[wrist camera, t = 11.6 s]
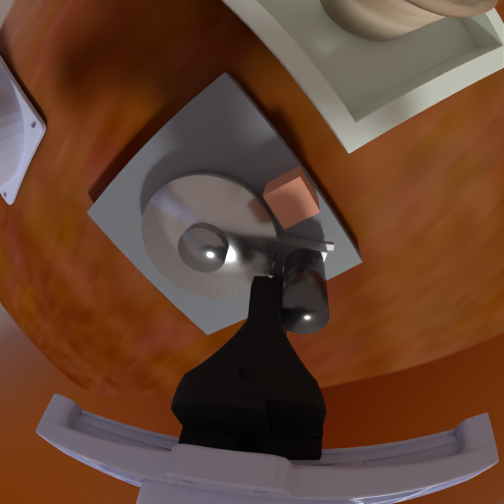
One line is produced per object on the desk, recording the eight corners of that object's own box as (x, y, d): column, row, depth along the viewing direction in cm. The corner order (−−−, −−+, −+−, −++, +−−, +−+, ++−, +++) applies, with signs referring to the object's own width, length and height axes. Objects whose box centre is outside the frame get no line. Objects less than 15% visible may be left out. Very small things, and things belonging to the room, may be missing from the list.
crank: (151, 273, 15) (118, 323, 12) (148, 161, 12) (97, 194, 8) (304, 308, 15) (303, 369, 12) (342, 198, 11) (360, 247, 8)
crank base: (94, 206, 15) (71, 225, 13) (229, 73, 10) (215, 70, 8) (210, 326, 18) (201, 352, 16) (360, 252, 14) (368, 280, 12)
